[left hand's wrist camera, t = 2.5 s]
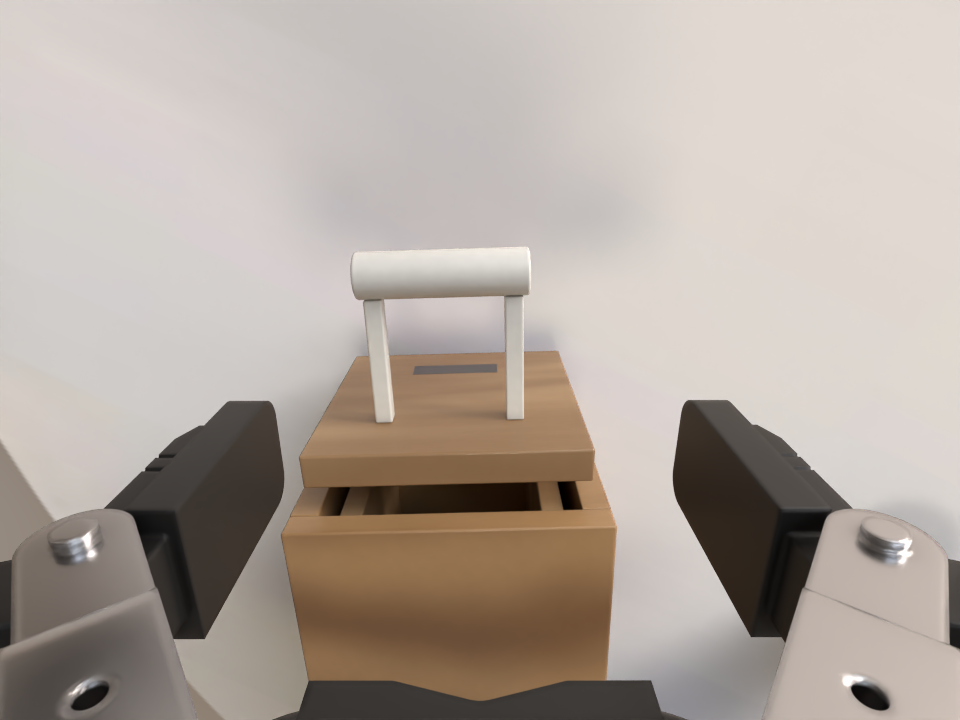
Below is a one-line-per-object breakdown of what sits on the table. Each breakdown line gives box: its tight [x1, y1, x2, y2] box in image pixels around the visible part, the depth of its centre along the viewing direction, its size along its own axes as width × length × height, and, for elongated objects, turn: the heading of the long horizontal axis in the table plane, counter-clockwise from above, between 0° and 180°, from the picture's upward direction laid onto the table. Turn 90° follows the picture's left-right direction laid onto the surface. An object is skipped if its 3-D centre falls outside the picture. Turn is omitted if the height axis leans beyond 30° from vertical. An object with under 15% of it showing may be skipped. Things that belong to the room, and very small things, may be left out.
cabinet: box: [281, 463, 617, 701], centre depth 26 cm, size 18×11×11 cm, turn 2°
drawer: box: [299, 247, 595, 516], centre depth 24 cm, size 23×9×9 cm, turn 2°
